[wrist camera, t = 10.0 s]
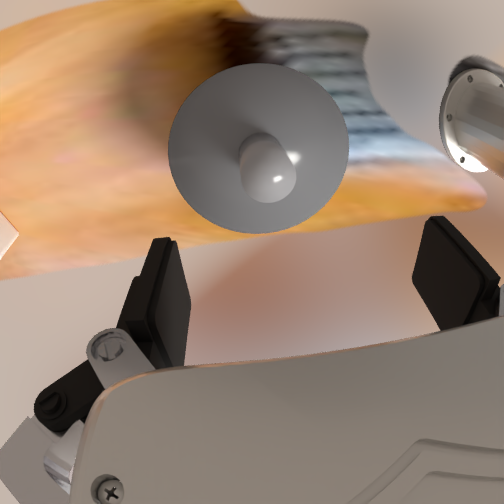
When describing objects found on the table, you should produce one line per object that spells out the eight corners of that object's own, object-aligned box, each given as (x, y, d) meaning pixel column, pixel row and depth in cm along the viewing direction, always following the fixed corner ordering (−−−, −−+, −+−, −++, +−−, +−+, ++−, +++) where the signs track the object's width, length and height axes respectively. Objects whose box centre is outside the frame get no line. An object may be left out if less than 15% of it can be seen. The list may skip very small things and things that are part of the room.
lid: (342, 62, 19) (378, 65, 15) (340, 218, 27) (365, 258, 22) (158, 76, 19) (136, 81, 14) (186, 234, 27) (178, 279, 22)
